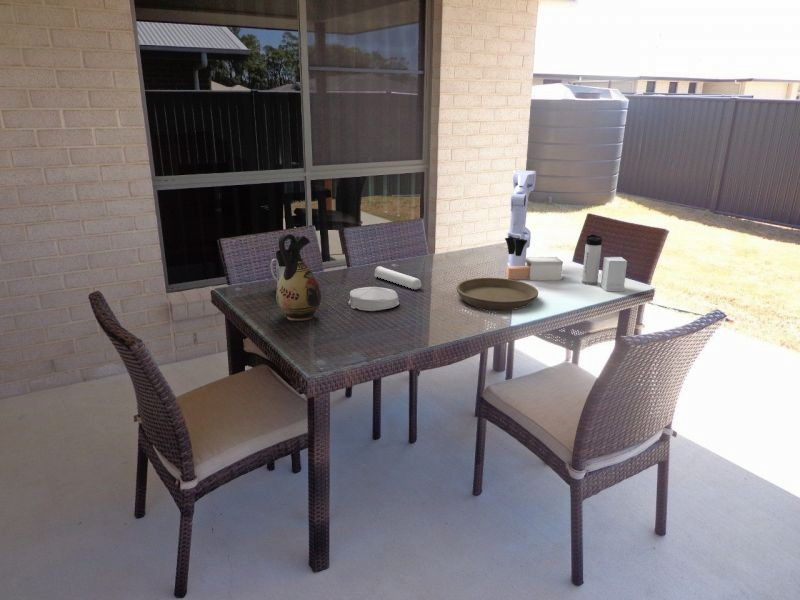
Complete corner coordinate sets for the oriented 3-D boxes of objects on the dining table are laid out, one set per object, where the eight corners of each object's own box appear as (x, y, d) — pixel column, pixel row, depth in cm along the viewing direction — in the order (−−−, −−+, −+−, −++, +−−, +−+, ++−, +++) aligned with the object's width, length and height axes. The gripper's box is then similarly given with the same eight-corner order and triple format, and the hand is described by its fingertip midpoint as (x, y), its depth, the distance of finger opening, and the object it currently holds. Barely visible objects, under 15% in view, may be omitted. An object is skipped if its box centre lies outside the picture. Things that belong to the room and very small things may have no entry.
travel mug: (595, 280, 258) (600, 234, 251) (598, 285, 251) (604, 237, 245) (580, 280, 258) (585, 234, 252) (583, 284, 252) (588, 237, 246)
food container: (341, 299, 233) (340, 282, 231) (390, 293, 239) (389, 276, 237) (356, 316, 215) (356, 298, 213) (408, 309, 222) (408, 291, 220)
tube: (425, 279, 244) (385, 267, 262) (416, 277, 241) (376, 265, 258) (421, 292, 245) (382, 278, 262) (412, 290, 241) (372, 277, 259)
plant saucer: (553, 300, 232) (554, 289, 231) (503, 318, 212) (504, 306, 211) (490, 283, 254) (490, 273, 252) (439, 298, 234) (439, 287, 232)
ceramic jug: (301, 307, 222) (297, 226, 213) (331, 316, 213) (328, 232, 204) (264, 319, 210) (258, 233, 200) (294, 329, 200) (289, 240, 191)
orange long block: (505, 277, 263) (506, 266, 262) (542, 276, 264) (542, 265, 263) (508, 279, 259) (508, 268, 258) (544, 279, 260) (545, 268, 259)
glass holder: (302, 286, 247) (300, 250, 243) (282, 295, 235) (279, 258, 230) (284, 283, 251) (282, 248, 246) (263, 292, 238) (261, 255, 234)
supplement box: (624, 291, 243) (627, 261, 239) (605, 291, 243) (608, 260, 239) (618, 286, 250) (621, 256, 246) (600, 286, 250) (603, 256, 246)
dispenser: (522, 275, 266) (523, 257, 263) (555, 274, 267) (556, 257, 264) (527, 280, 258) (528, 262, 255) (561, 279, 259) (563, 261, 256)
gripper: (501, 221, 261) (499, 253, 264) (515, 223, 248) (512, 256, 250) (517, 222, 263) (514, 253, 265) (531, 224, 249) (528, 256, 251)
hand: (514, 255), depth 258 cm, fingers open, 7 cm apart
